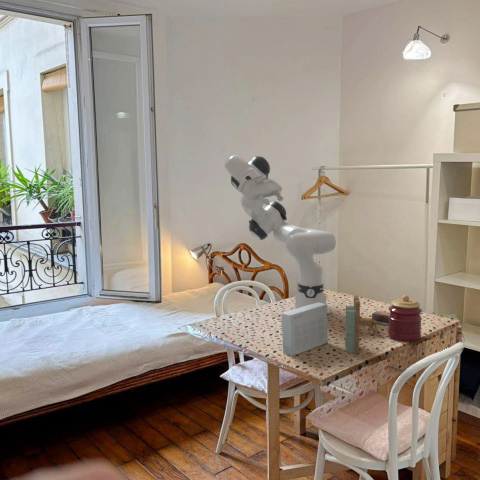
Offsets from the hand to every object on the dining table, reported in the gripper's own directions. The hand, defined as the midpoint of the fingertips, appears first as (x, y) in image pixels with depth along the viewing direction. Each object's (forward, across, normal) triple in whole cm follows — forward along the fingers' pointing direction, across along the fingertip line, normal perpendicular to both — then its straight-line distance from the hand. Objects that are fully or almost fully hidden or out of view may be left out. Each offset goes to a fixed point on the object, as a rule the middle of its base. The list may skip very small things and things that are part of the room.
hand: (274, 201), depth 211 cm
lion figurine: (+59, -14, -28) cm, 66 cm away
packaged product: (+64, -33, -26) cm, 77 cm away
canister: (+72, -20, -18) cm, 77 cm away
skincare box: (+51, +15, -30) cm, 61 cm away
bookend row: (+63, +6, -22) cm, 67 cm away
